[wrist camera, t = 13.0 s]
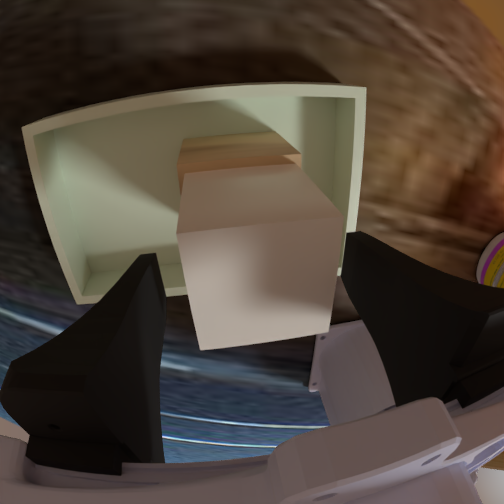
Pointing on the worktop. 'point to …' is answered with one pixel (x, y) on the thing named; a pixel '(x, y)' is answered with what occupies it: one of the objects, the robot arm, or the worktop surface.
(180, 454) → the worktop surface
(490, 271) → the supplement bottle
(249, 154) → the oak block
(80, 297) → the tote tray
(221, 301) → the cream box
